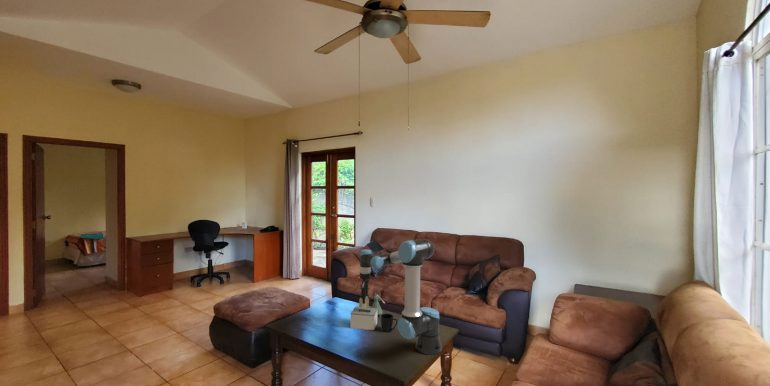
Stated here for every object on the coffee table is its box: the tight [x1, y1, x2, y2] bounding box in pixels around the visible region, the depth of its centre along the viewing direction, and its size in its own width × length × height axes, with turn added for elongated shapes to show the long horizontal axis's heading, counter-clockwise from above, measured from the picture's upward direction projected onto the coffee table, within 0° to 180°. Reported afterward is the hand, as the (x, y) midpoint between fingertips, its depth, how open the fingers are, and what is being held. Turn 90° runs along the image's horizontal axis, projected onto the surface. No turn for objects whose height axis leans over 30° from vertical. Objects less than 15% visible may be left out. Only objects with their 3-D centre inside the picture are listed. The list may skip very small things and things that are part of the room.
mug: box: [380, 313, 399, 333], centre depth 212 cm, size 8×12×10 cm
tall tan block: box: [358, 297, 370, 309], centre depth 219 cm, size 6×3×6 cm, turn 81°
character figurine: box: [369, 291, 386, 318], centre depth 236 cm, size 16×8×18 cm, turn 65°
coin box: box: [350, 306, 378, 331], centre depth 219 cm, size 16×12×10 cm
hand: (364, 306), depth 219 cm, fingers closed on tall tan block, 3 cm apart
